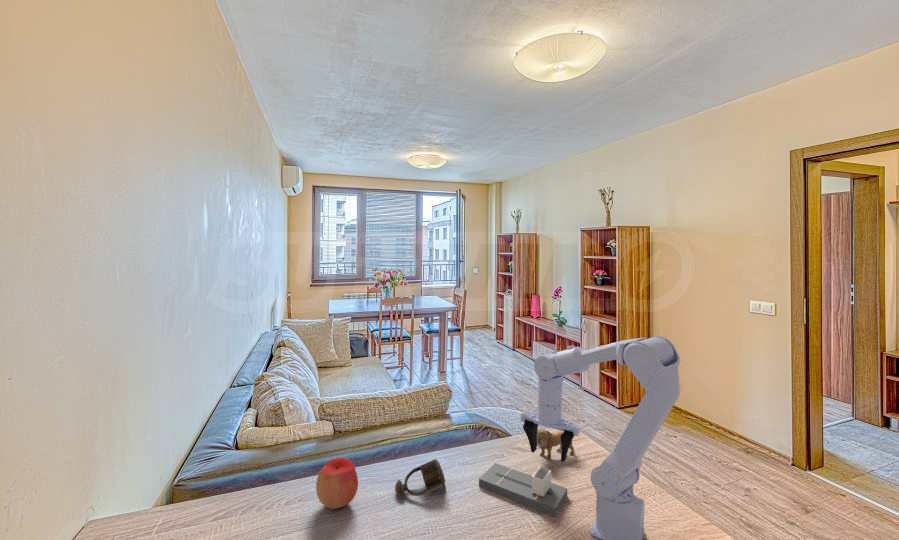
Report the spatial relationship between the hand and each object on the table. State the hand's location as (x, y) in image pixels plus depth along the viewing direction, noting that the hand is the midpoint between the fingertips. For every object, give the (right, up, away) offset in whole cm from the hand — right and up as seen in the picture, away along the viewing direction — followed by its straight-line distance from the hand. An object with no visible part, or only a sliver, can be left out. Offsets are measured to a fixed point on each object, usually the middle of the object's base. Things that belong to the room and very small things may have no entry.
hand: (548, 455), depth 97 cm
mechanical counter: (-32, -9, +1) cm, 33 cm away
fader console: (-6, -9, +1) cm, 11 cm away
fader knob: (-2, -7, -2) cm, 8 cm away
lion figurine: (+6, -9, +17) cm, 20 cm away
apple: (-51, -9, -5) cm, 53 cm away
